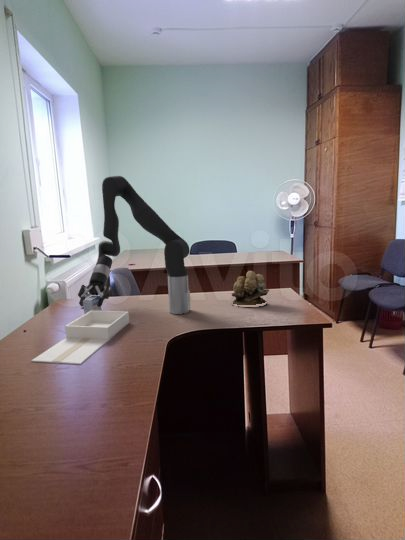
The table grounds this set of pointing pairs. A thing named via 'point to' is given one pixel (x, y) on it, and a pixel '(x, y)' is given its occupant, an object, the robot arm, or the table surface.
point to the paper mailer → (85, 337)
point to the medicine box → (91, 304)
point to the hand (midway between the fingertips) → (89, 306)
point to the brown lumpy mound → (249, 289)
